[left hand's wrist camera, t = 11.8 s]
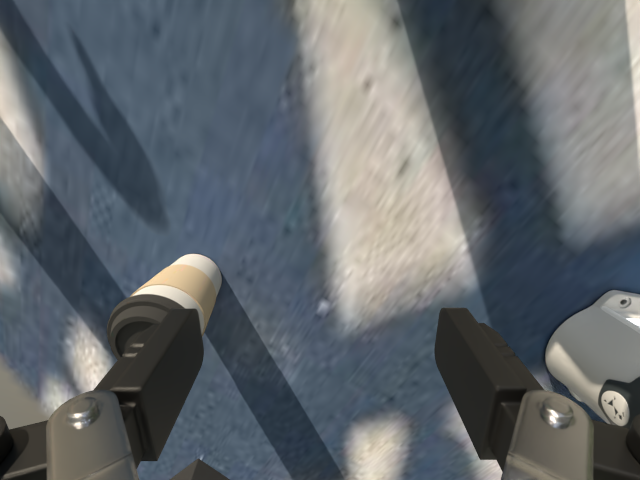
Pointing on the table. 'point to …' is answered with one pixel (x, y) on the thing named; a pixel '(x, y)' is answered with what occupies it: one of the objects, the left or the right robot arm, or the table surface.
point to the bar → (199, 472)
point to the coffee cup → (165, 299)
